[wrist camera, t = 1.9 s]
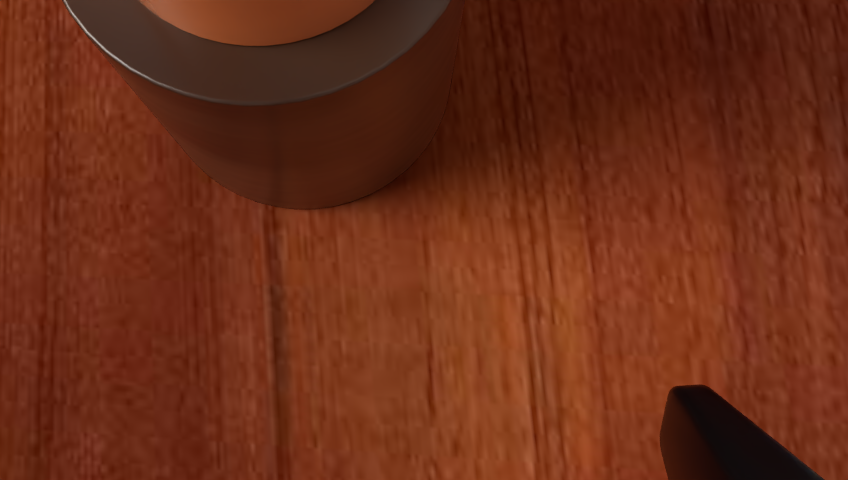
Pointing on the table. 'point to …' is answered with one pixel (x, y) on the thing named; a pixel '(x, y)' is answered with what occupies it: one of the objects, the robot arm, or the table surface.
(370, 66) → the metal cylinder
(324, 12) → the orange cylinder
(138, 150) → the table surface
